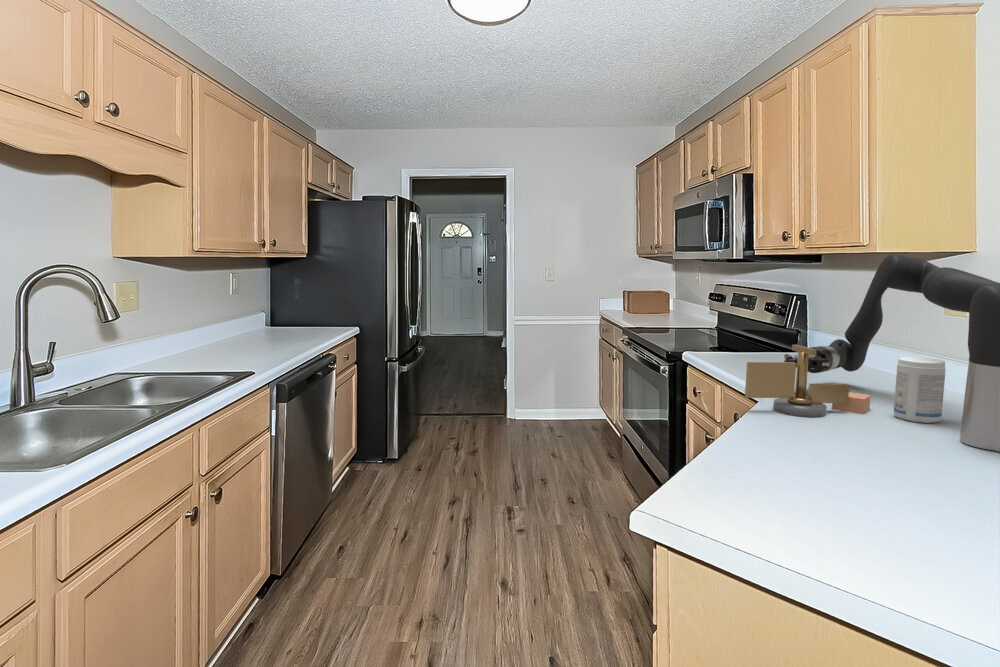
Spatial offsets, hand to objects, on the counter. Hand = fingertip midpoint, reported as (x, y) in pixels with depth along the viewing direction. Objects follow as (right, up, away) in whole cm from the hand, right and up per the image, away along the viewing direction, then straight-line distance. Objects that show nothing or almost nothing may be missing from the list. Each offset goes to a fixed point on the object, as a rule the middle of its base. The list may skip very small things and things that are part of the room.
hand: (790, 363), depth 158 cm
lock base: (-3, -11, -11) cm, 16 cm away
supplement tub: (+22, -13, -16) cm, 31 cm away
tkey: (-4, -9, -11) cm, 15 cm away
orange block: (+12, -12, -8) cm, 18 cm away
